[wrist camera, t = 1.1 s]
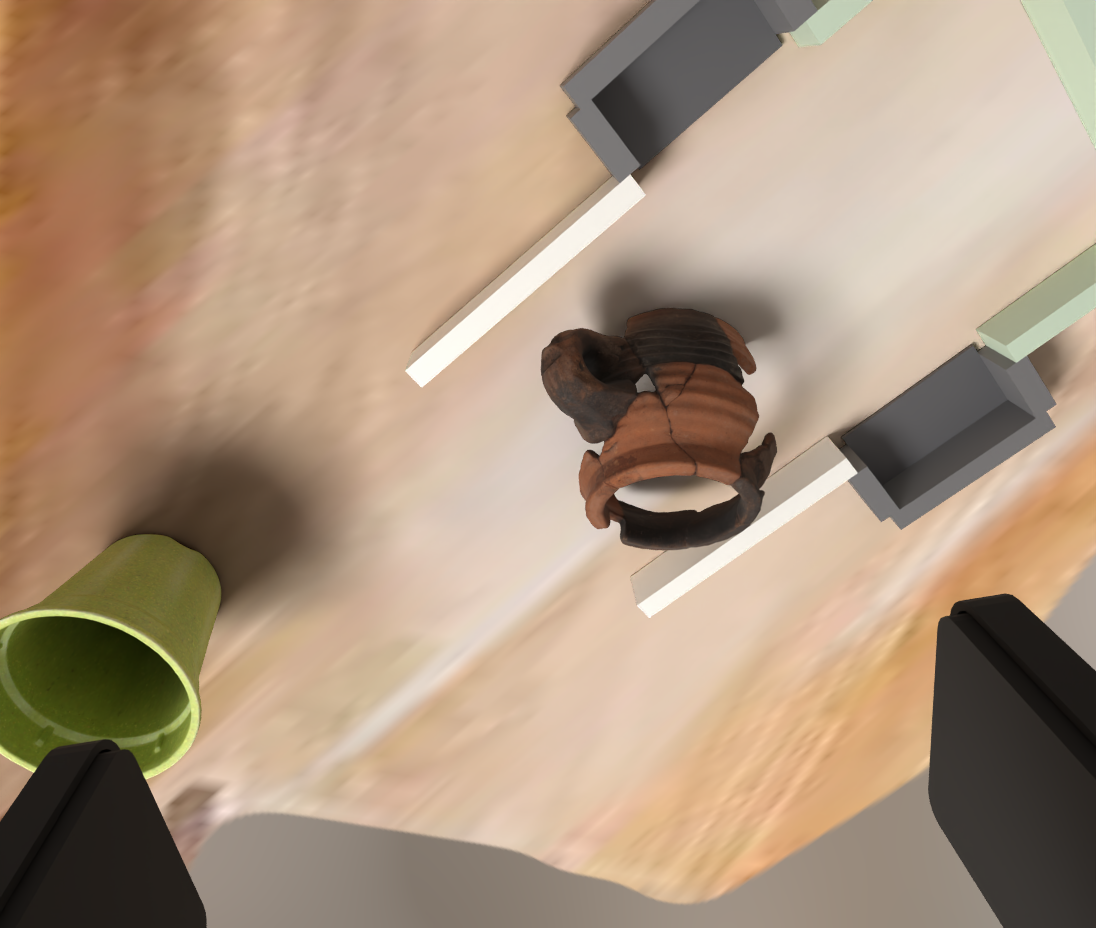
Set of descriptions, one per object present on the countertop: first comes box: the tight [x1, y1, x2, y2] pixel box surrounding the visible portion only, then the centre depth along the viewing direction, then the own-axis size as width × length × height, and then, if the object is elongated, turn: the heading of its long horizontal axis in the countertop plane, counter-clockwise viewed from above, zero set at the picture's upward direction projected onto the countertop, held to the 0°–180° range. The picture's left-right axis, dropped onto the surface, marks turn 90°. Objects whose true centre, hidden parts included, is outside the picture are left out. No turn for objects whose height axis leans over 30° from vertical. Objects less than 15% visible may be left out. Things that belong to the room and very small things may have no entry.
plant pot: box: [0, 534, 221, 780], centre depth 37 cm, size 9×9×9 cm
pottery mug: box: [541, 308, 777, 550], centre depth 36 cm, size 12×10×8 cm
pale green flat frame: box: [405, 0, 1096, 618], centre depth 35 cm, size 28×25×2 cm
